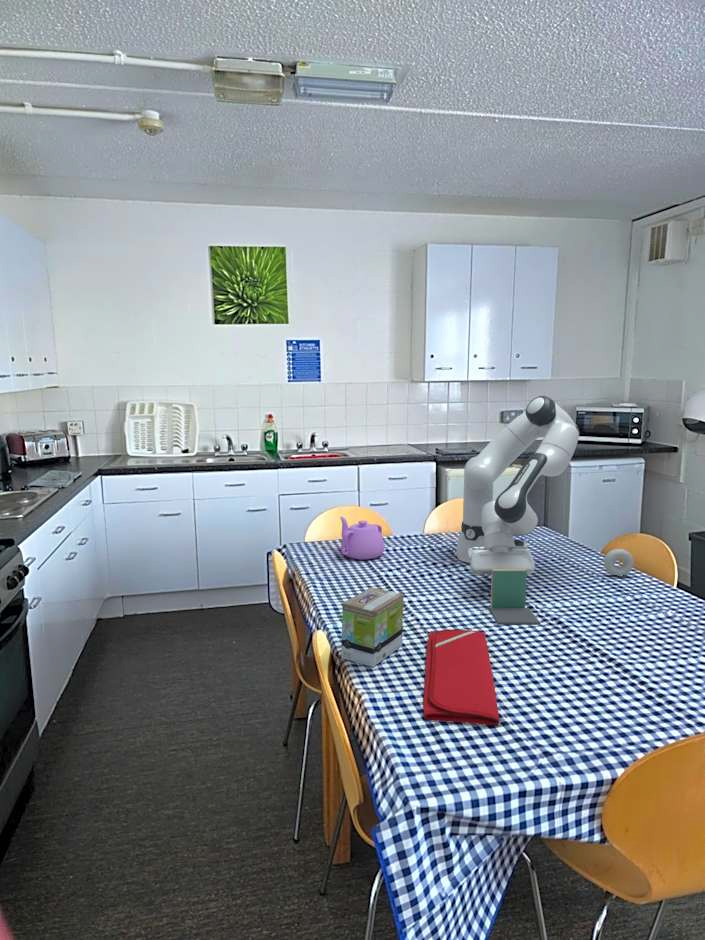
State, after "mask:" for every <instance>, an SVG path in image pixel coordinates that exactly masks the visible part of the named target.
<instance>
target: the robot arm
mask: <svg viewBox="0 0 705 940" xmlns="http://www.w3.org/2000/svg"><path fill="white" fill-rule="evenodd" d="M579 429H580V428H579V425H578V424H577V423H576V422H575V420H573V419H572V417H571V416H570V415H569V413H568V412H567V411H566V410H564V409H563V408H561V407H560V406H559V405H558V404H557V403H555V401H554V400H553V399H552V398H550V397H549V396H546V395H540V396H537V397H535V398H533V399H532V400H530V402H529V403H528V405H527V406H526V409H525V411H524V412H523V413H521V414H520V415H518V416H516V417H515V418H514V419H513V420H512V421H510V422H509V423H508V424H507V425H506V426H505V427H504V428H503V429H502V430H501V431H500V432H498V434H496V436H495V437H493V439H491V440H490V441H489V443H488V444H487V445H486V446H485V447H484V448H483V449H482V450H481V451H480V453H479V454H478V455H476V456H474V457H470V459H469V460H468V461H466V463H465V465H464V469H463V470H464V471H463V501H462V502H463V505H462V507H463V508H462V509H463V510H462V521H461V525H460V529H461V531H460V532H461V533H459V534H458V535H457V536H458V537H457V547H456V551H454V552H453V555H454V556H455V557H457V560H459V561H461V562H463V563H464V562H465V563H468V564H469V572H470V574H472V575H473V576H474V575H475V576H476V575H477V576H478V575H479V576H483V575H484V576H485V575H486V576H488V575H490V576H492V569H525V570H526V571H527V575H532V574H533V573H534V572H535V569H536V565H535V561H534V558H533V555H532V553H531V551H530V549H528V545H529V544H528V542H526V540H520V539H517V538H516V537H520V536H521V537H522V536H526V535H529V534H531V533H533V532H534V531H535V530H536V528H537V527H538V523H539V517H538V515H537V513H536V512H535V511H534V509H533V508H532V507H531V505H530V504H529V503H528V494H529V492H530V491H531V490H532V488H533V486H534V485H535V483H536V482H537V480H538V479H539V478H540V477H541V476H545V477H558V476H559V475H562V473H563V472H565V470H566V469H567V467H568V466H569V463H570V462H571V460H572V458H573V455H574V453H575V451H576V448H577V445H578V441H579V437H580V430H579ZM540 438H543V439H542V440H541V442H540V444H539V446H538V448H537V450H536V451H535V452H534V453H532V454H531V455H530V456H529V457H528V458H527V459H526V461H524V463H523V465H522V466H520V469H519V470H518V472H517V473H516V475H515V476H514V478H513V479H512V480H511V482H510V483H509V485H508V486H506V488H505V489H504V490H503V491H502V492H501V493H499V495H497V497H496V499H495V500H494V482H496V481H497V479H499V478H500V477H501V475H502V474H503V473H505V471H506V470H507V469H508V468H509V466H510V465H511V464H512V463H513V462H514V461H515V460H516V459H517V458H518V457H519V456H520V455H521V454H523V453H524V452H525V451H526V450H527V449H529V447H530V446H531V445H533V443H534V442H535V441H536V440H537V439H540ZM514 537H515V538H514Z"/></svg>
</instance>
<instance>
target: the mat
mask: <svg viewBox="0 0 705 940" xmlns="http://www.w3.org/2000/svg"><path fill="white" fill-rule="evenodd" d="M489 612H490V614H491V615H492V617H493V619H494V621H495V623H496V624H497V625H541V624H540V621H539V619H538V618H537V616H536V615H535V613H534V612H533V611H532V609H531V608H530V607H525V608H491V607H489Z"/></svg>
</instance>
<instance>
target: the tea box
mask: <svg viewBox="0 0 705 940" xmlns="http://www.w3.org/2000/svg"><path fill="white" fill-rule="evenodd" d="M341 608H342V610H341V611H342V613H341V615H342V617H341V655H340V656H341V658H342V659H344V660H347V661H350V662H354V663H357V664H360V665H364V666H367V667H371V668H374V667H375V666H377V665H378V664H380V663H381V662H382V661H383V660H385V659H386V658H388V657H389V656H390V655H392V654H393V653H394V652H395V651H397V650H399V648H401V647H402V646H403V631H404V630H403V629H404V628H403V627H404V620H403V619H404V593H400V592H395V591H390V590H387V589H381V588H377V587H370V588H368V589H366V590H364V591H363V592H361V593H359V594H358V595H356V596H354V597H352V598H350V599H348V600H347V601H344V602H342V607H341Z"/></svg>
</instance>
